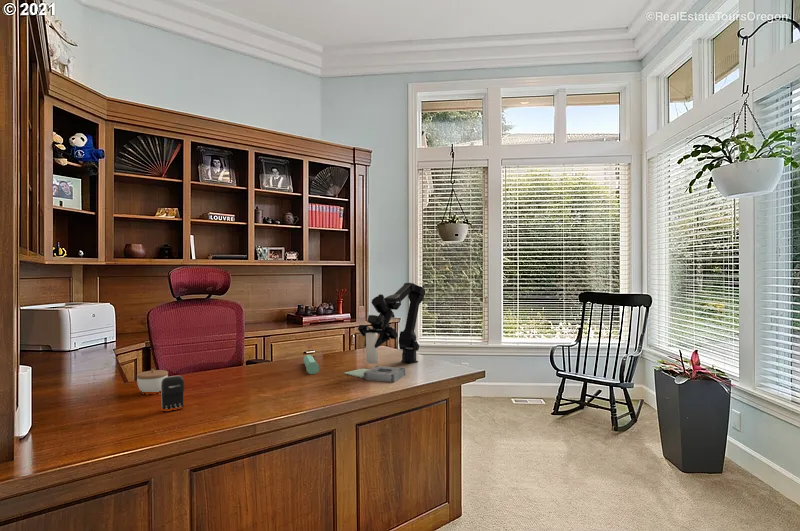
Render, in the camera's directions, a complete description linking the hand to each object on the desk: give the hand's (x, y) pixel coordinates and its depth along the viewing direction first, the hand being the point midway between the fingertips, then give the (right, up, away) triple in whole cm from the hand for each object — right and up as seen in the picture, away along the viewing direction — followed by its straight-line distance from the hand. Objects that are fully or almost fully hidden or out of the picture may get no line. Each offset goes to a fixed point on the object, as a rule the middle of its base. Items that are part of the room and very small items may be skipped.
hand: (370, 346), depth 208 cm
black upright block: (-64, -14, -48) cm, 81 cm away
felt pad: (-4, -13, +5) cm, 14 cm away
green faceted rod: (-30, -14, +17) cm, 37 cm away
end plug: (+1, -7, +1) cm, 7 cm away
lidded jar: (-83, -14, -26) cm, 88 cm away
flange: (+7, -13, -2) cm, 15 cm away
